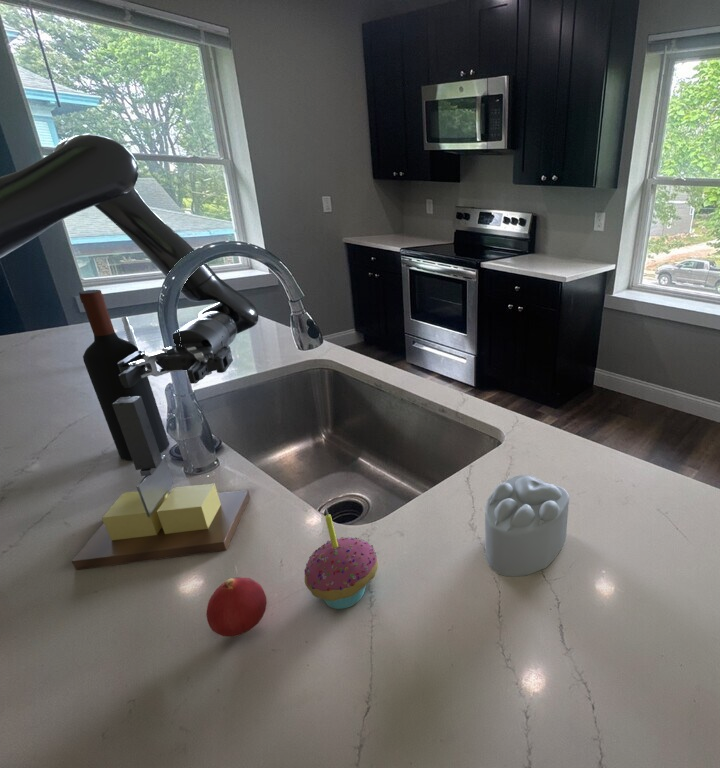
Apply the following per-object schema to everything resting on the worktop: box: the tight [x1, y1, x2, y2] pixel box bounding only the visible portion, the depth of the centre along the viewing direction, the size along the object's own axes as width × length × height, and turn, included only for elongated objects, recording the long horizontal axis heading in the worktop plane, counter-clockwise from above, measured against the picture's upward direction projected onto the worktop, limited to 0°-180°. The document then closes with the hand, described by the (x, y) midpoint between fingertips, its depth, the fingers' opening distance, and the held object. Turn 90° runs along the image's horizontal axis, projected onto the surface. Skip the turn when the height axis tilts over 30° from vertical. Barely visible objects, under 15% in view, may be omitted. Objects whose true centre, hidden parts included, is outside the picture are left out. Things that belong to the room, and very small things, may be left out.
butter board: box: [71, 489, 251, 571], centre depth 68 cm, size 18×12×2 cm, turn 103°
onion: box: [205, 576, 268, 638], centre depth 52 cm, size 6×6×8 cm
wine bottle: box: [78, 289, 170, 462], centre depth 82 cm, size 8×8×30 cm
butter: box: [101, 483, 221, 540], centre depth 67 cm, size 12×6×4 cm, turn 103°
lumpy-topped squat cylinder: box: [484, 474, 570, 577], centre depth 66 cm, size 10×13×9 cm
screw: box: [121, 315, 149, 355], centre depth 124 cm, size 13×5×5 cm
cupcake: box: [304, 508, 379, 610], centre depth 56 cm, size 9×8×12 cm
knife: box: [112, 396, 175, 517], centre depth 63 cm, size 2×8×16 cm, turn 13°
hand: (158, 379), depth 68 cm, fingers open, 8 cm apart
